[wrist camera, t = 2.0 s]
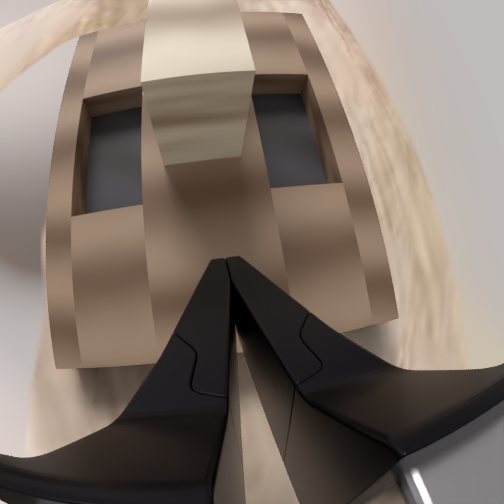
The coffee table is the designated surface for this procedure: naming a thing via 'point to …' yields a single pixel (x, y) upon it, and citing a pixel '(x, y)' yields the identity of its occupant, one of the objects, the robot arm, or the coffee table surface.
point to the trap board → (204, 201)
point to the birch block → (197, 78)
